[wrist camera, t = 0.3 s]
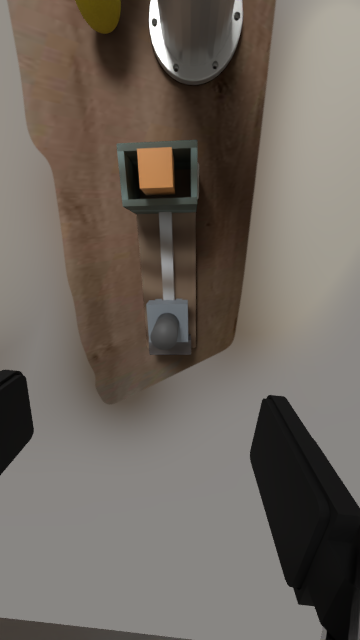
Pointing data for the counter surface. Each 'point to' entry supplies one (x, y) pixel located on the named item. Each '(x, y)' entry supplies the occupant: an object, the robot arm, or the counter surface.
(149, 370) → the counter surface
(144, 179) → the orange block
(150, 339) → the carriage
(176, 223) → the rail base
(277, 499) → the robot arm
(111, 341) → the counter surface
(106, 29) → the lemon
